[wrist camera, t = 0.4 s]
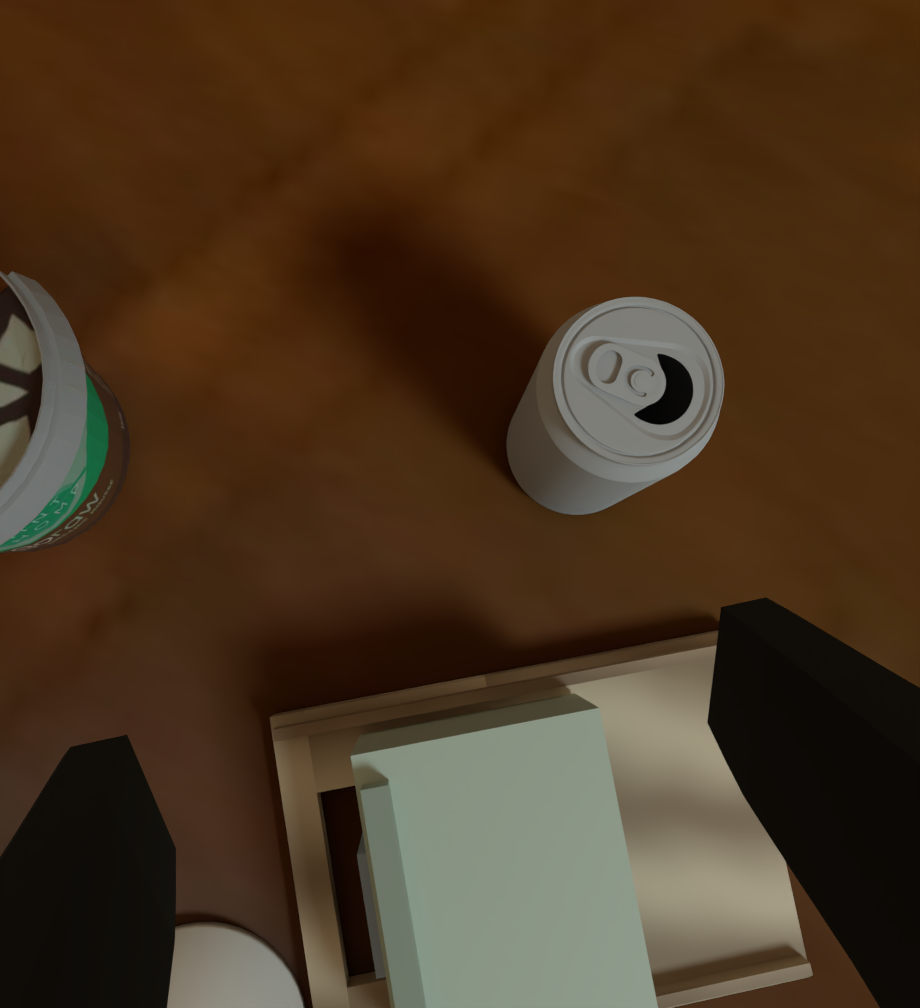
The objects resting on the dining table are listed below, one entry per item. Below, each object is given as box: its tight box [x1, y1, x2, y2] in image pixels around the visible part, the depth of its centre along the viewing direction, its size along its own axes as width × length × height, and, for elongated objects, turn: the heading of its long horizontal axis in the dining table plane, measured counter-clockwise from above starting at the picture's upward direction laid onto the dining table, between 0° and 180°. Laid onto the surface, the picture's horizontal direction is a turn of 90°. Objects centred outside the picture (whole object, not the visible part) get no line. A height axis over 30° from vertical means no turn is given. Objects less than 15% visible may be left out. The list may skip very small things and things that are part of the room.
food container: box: [0, 271, 130, 553], centre depth 31 cm, size 12×6×10 cm, turn 139°
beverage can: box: [507, 297, 724, 515], centre depth 32 cm, size 6×6×12 cm
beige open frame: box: [270, 630, 813, 1008], centre depth 35 cm, size 15×21×2 cm
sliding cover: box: [351, 693, 658, 1008], centre depth 31 cm, size 12×10×6 cm
